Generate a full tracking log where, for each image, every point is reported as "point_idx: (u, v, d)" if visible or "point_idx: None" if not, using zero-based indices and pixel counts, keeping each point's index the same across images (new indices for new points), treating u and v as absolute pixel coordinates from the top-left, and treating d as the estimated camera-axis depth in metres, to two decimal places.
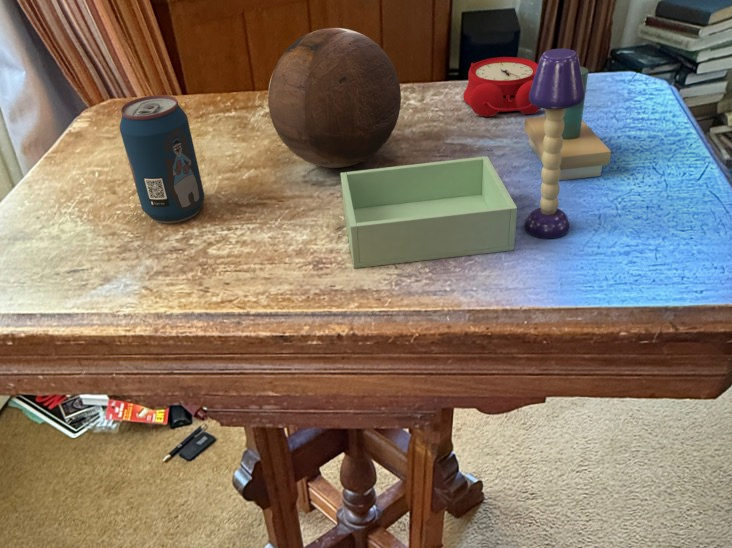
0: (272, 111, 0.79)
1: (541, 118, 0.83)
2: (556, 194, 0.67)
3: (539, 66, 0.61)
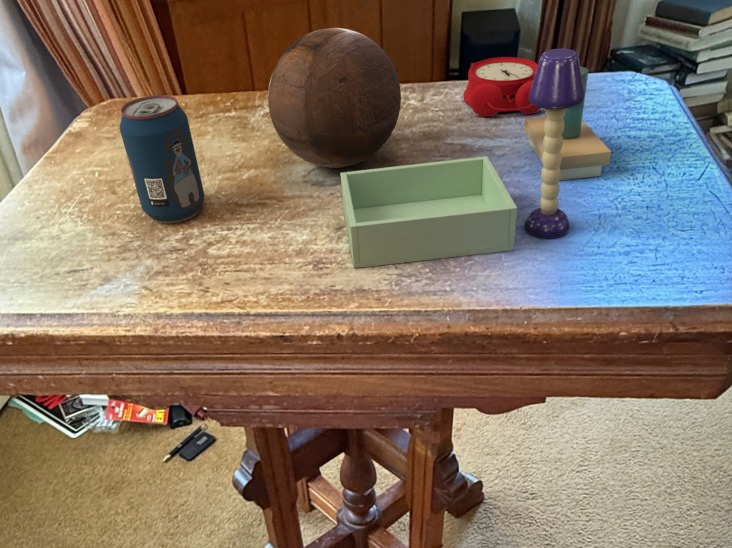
0: (272, 111, 0.79)
1: (541, 118, 0.83)
2: (556, 194, 0.67)
3: (539, 66, 0.61)
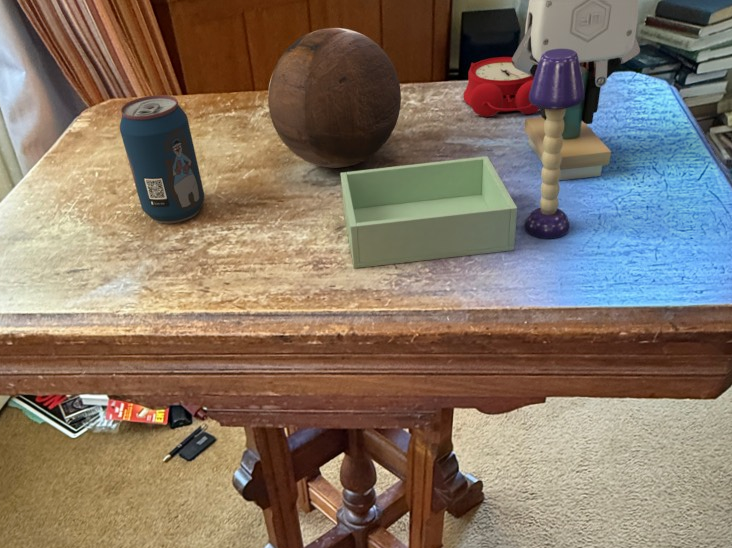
0: (272, 111, 0.79)
1: (541, 118, 0.83)
2: (556, 194, 0.67)
3: (539, 66, 0.61)
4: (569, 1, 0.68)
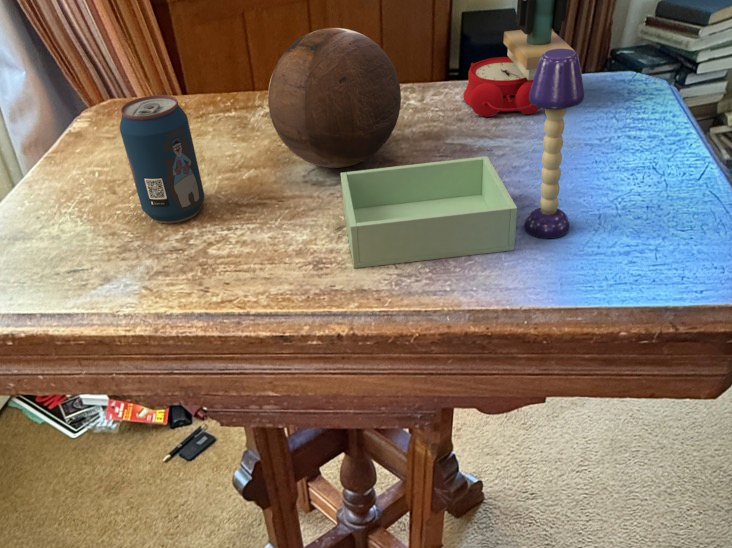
0: (272, 111, 0.79)
1: (518, 31, 0.95)
2: (556, 194, 0.67)
3: (539, 66, 0.61)
4: None
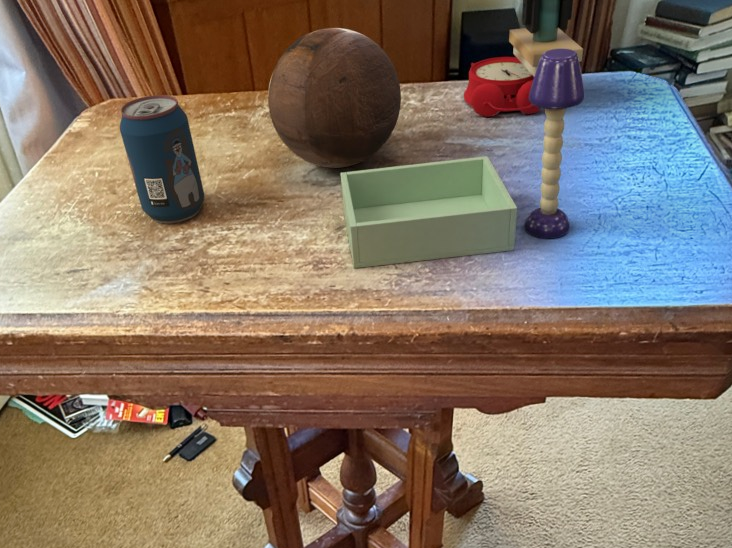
0: (272, 111, 0.79)
1: (524, 29, 0.94)
2: (556, 194, 0.67)
3: (539, 66, 0.61)
4: None
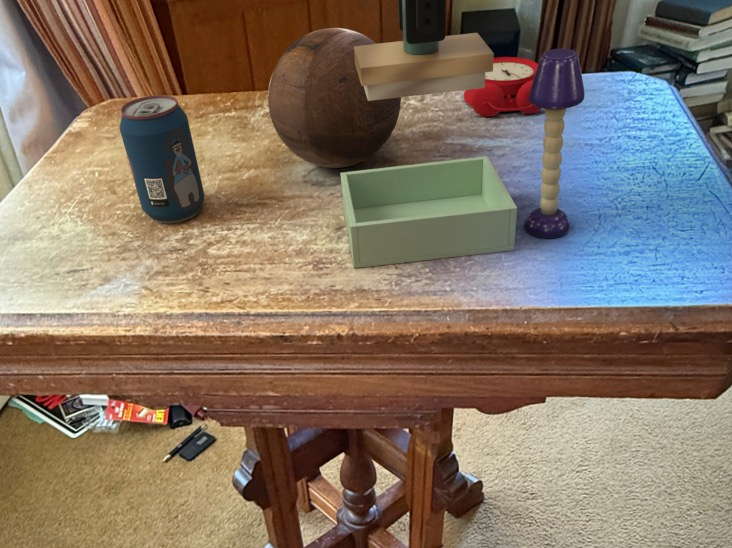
0: (272, 111, 0.79)
1: (365, 60, 0.60)
2: (556, 194, 0.67)
3: (539, 66, 0.61)
4: None
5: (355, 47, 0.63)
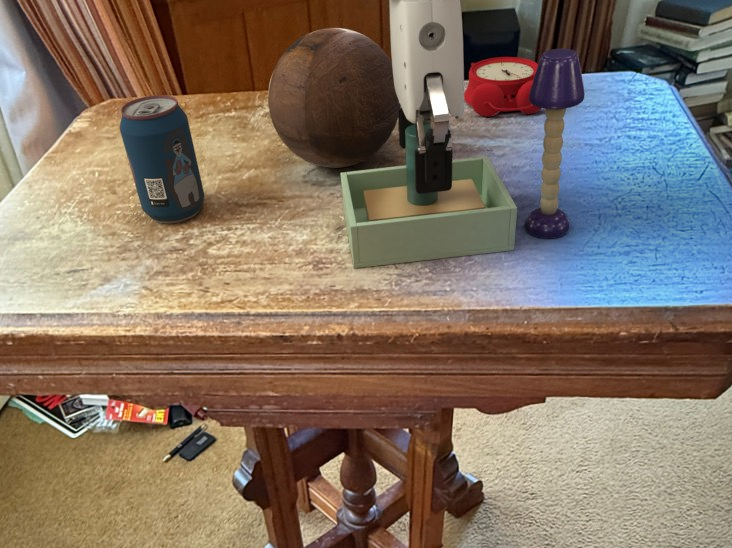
0: (272, 111, 0.79)
1: (373, 210, 0.69)
2: (556, 194, 0.67)
3: (539, 66, 0.61)
4: None
5: (364, 192, 0.72)
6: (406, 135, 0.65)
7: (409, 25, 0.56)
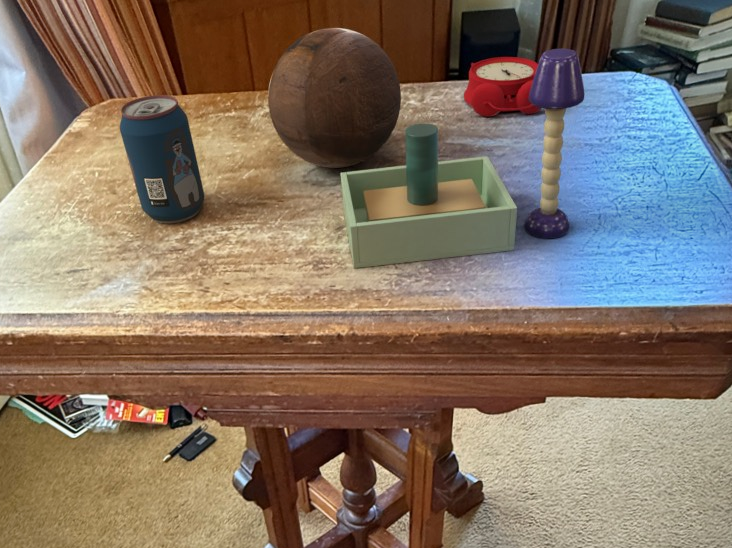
0: (272, 111, 0.79)
1: (373, 210, 0.69)
2: (556, 194, 0.67)
3: (539, 66, 0.61)
4: None
5: (364, 192, 0.72)
6: (406, 135, 0.65)
7: None
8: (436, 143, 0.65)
